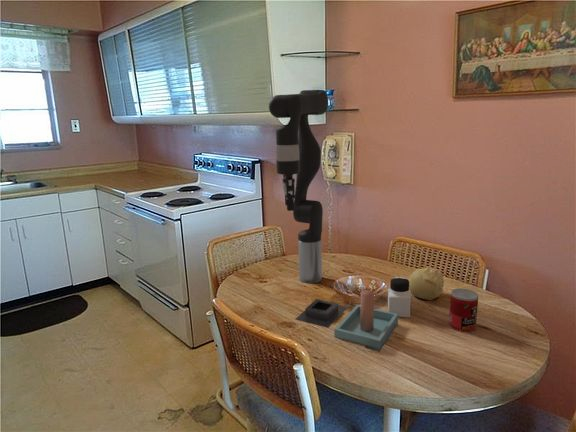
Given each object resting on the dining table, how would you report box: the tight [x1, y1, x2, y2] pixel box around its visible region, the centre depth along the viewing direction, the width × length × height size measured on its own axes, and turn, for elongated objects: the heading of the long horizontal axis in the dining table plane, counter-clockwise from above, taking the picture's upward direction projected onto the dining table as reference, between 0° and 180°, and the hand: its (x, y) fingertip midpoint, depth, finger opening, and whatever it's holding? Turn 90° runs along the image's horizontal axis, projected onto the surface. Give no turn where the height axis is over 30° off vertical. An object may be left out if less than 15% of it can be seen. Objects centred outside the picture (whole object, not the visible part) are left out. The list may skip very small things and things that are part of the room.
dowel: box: [360, 289, 375, 332], centre depth 126 cm, size 4×4×12 cm
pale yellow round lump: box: [408, 266, 445, 301], centre depth 149 cm, size 11×12×11 cm
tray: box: [333, 304, 399, 353], centre depth 127 cm, size 18×14×4 cm
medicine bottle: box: [387, 276, 412, 318], centre depth 137 cm, size 7×7×12 cm
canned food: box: [448, 288, 479, 332], centre depth 128 cm, size 8×8×11 cm
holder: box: [294, 298, 348, 329], centre depth 138 cm, size 16×12×4 cm
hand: (289, 207), depth 137 cm, fingers open, 8 cm apart
